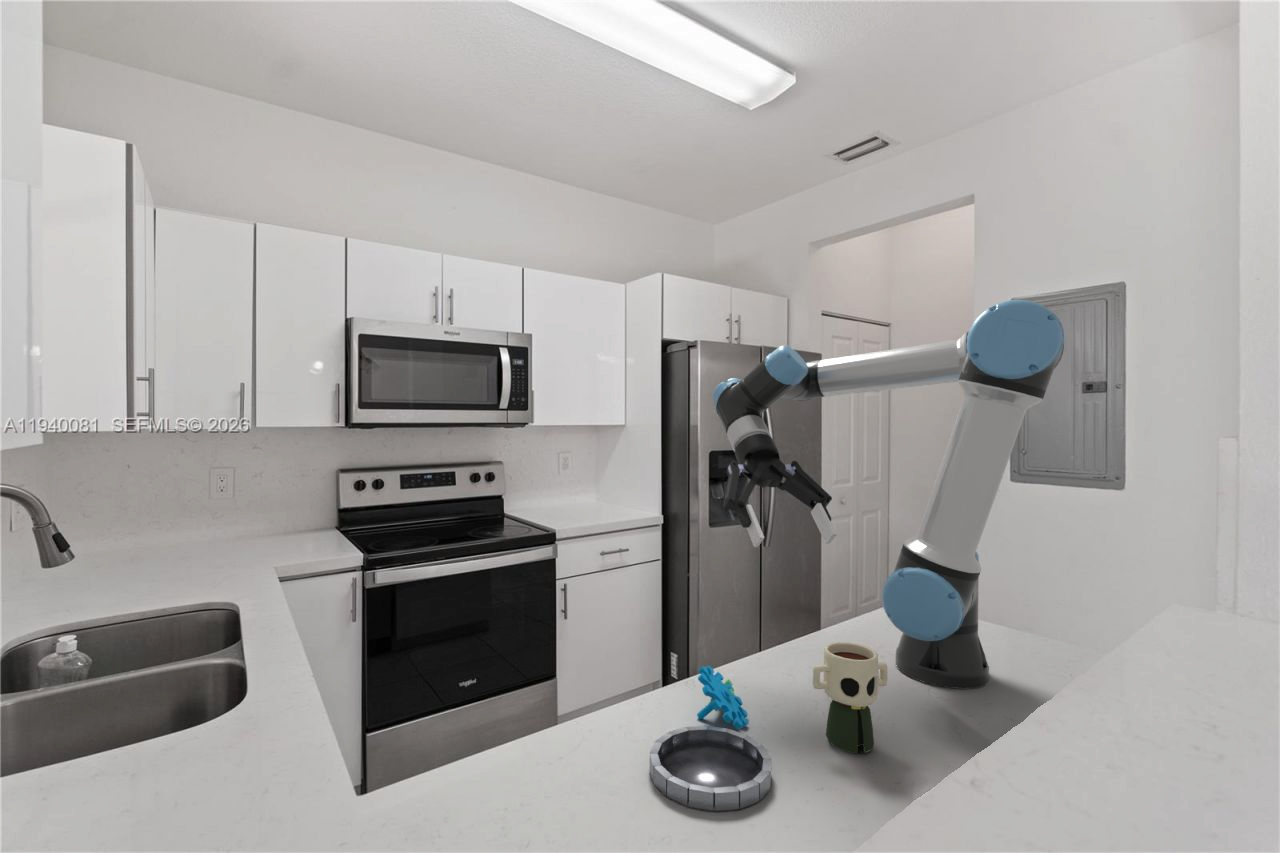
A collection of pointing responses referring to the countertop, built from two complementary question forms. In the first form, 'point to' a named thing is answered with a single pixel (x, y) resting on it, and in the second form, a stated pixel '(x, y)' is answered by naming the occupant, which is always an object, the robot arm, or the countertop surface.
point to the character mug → (850, 693)
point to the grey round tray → (710, 768)
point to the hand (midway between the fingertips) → (796, 540)
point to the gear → (721, 698)
